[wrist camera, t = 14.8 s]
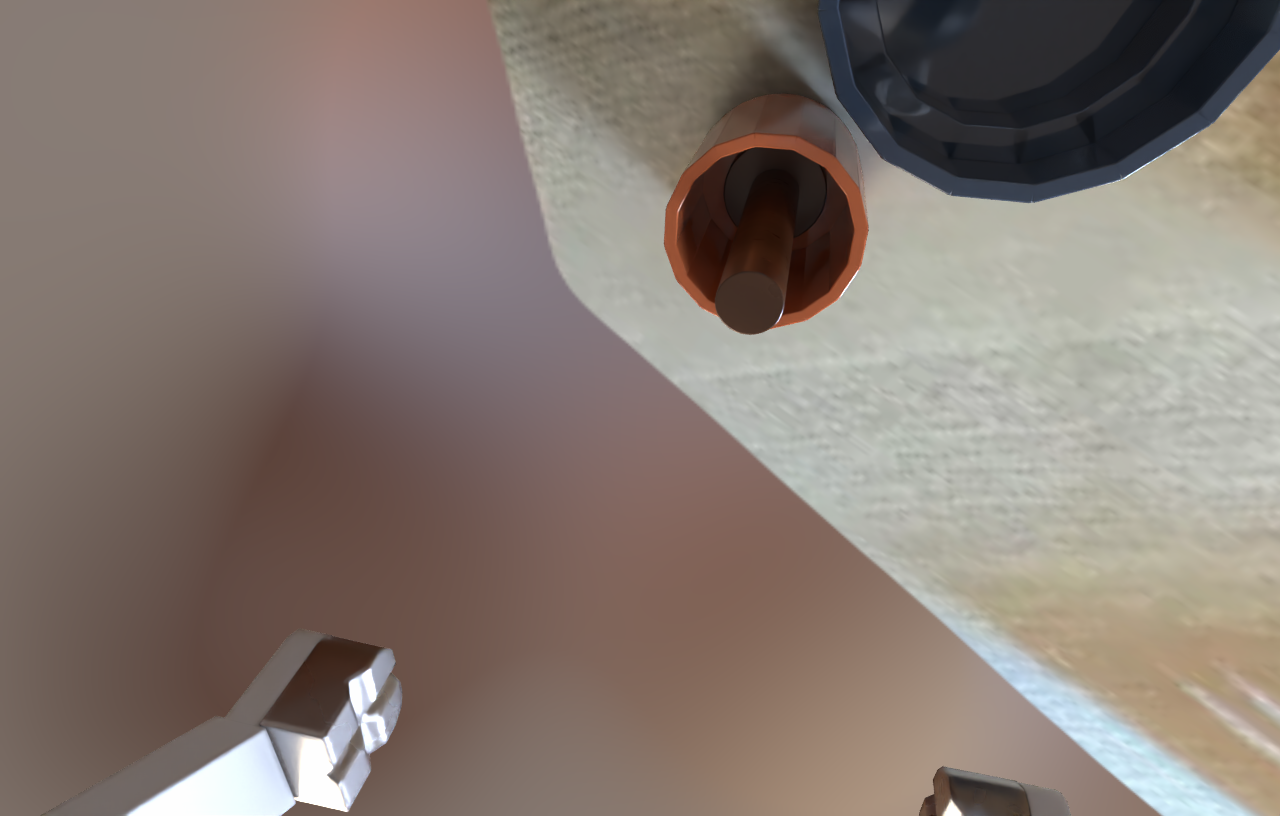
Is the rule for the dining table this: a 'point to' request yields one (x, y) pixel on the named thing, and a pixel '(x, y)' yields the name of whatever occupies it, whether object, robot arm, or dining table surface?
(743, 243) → the plunger
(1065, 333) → the dining table surface
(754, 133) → the crock
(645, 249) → the dining table surface
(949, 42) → the bowl
